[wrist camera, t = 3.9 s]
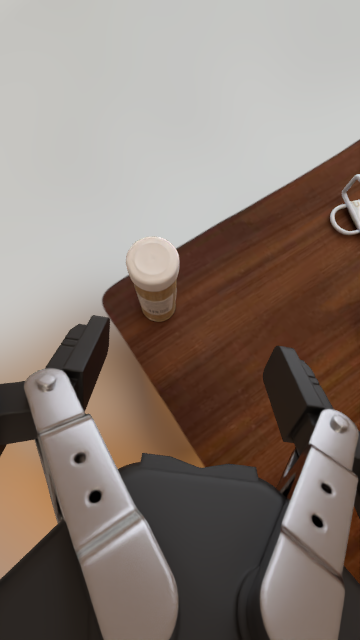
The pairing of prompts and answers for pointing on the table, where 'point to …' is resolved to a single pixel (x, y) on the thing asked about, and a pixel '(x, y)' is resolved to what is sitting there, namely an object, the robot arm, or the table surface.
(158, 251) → the sprinkles bottle
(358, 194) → the table surface
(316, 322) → the table surface
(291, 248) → the table surface
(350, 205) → the wall mount rack
